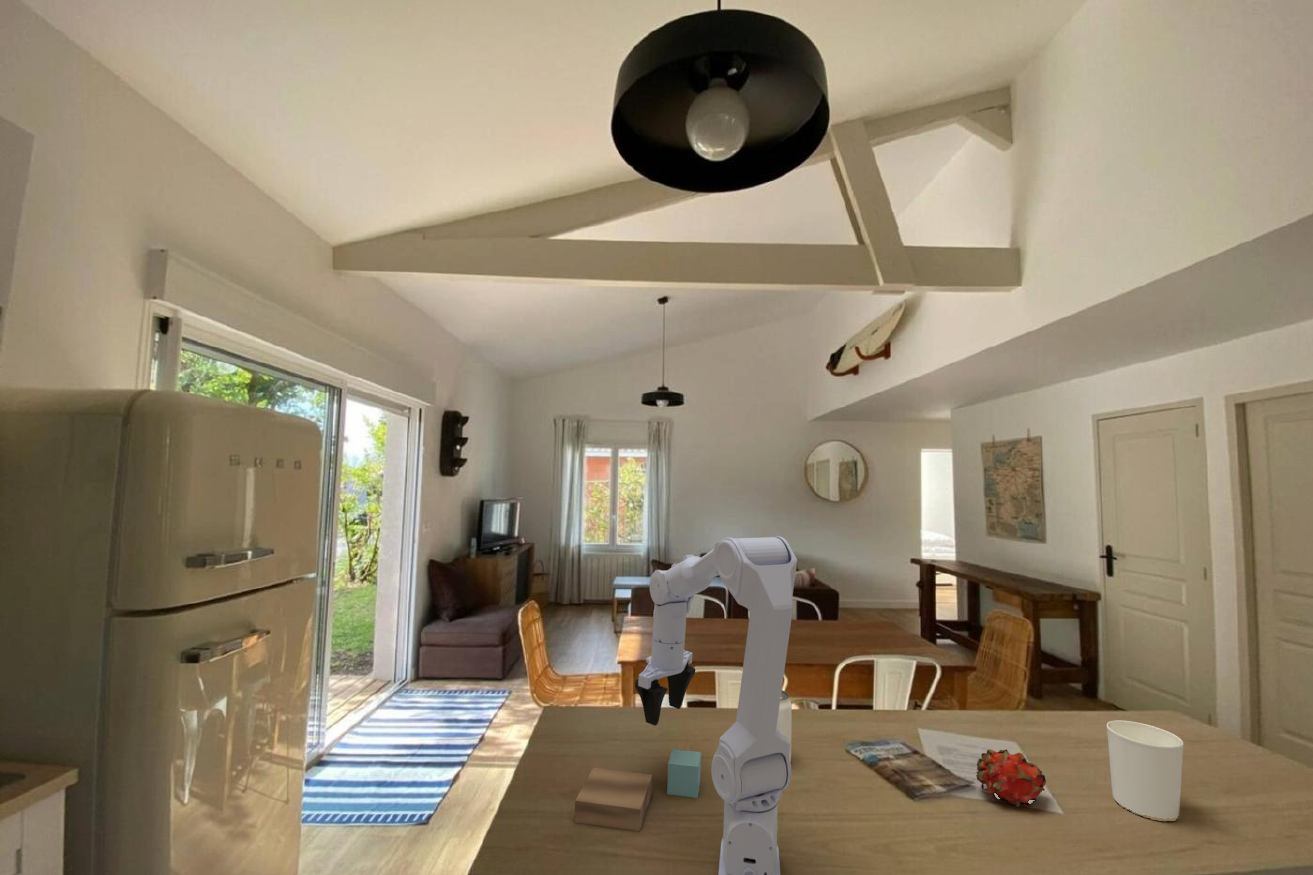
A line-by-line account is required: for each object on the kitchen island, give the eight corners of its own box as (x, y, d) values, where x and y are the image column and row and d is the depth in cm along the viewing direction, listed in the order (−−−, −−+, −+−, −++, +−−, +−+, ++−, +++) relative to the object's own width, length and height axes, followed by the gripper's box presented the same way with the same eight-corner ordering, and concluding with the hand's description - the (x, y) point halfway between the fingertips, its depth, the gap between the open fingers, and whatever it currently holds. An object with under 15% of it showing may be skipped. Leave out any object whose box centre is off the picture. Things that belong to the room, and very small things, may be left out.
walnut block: (639, 833, 85) (640, 809, 86) (574, 824, 87) (575, 800, 87) (651, 796, 95) (652, 774, 95) (592, 788, 97) (593, 767, 97)
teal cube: (697, 798, 94) (698, 766, 95) (667, 794, 95) (668, 763, 96) (700, 782, 99) (701, 752, 100) (671, 778, 100) (672, 749, 101)
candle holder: (1155, 829, 89) (1154, 749, 90) (1092, 794, 99) (1091, 722, 100) (1201, 821, 92) (1199, 743, 93) (1135, 788, 101) (1134, 717, 102)
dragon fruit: (968, 805, 97) (1037, 816, 98) (998, 798, 91) (1072, 810, 91) (957, 749, 103) (1023, 760, 103) (985, 738, 96) (1055, 750, 97)
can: (791, 771, 104) (792, 702, 104) (754, 766, 105) (756, 698, 106) (790, 753, 110) (791, 689, 111) (755, 749, 111) (757, 685, 112)
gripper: (671, 622, 110) (666, 693, 111) (625, 643, 98) (620, 723, 99) (703, 631, 106) (699, 705, 107) (660, 654, 94) (655, 737, 95)
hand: (663, 714), depth 102 cm, fingers open, 7 cm apart
